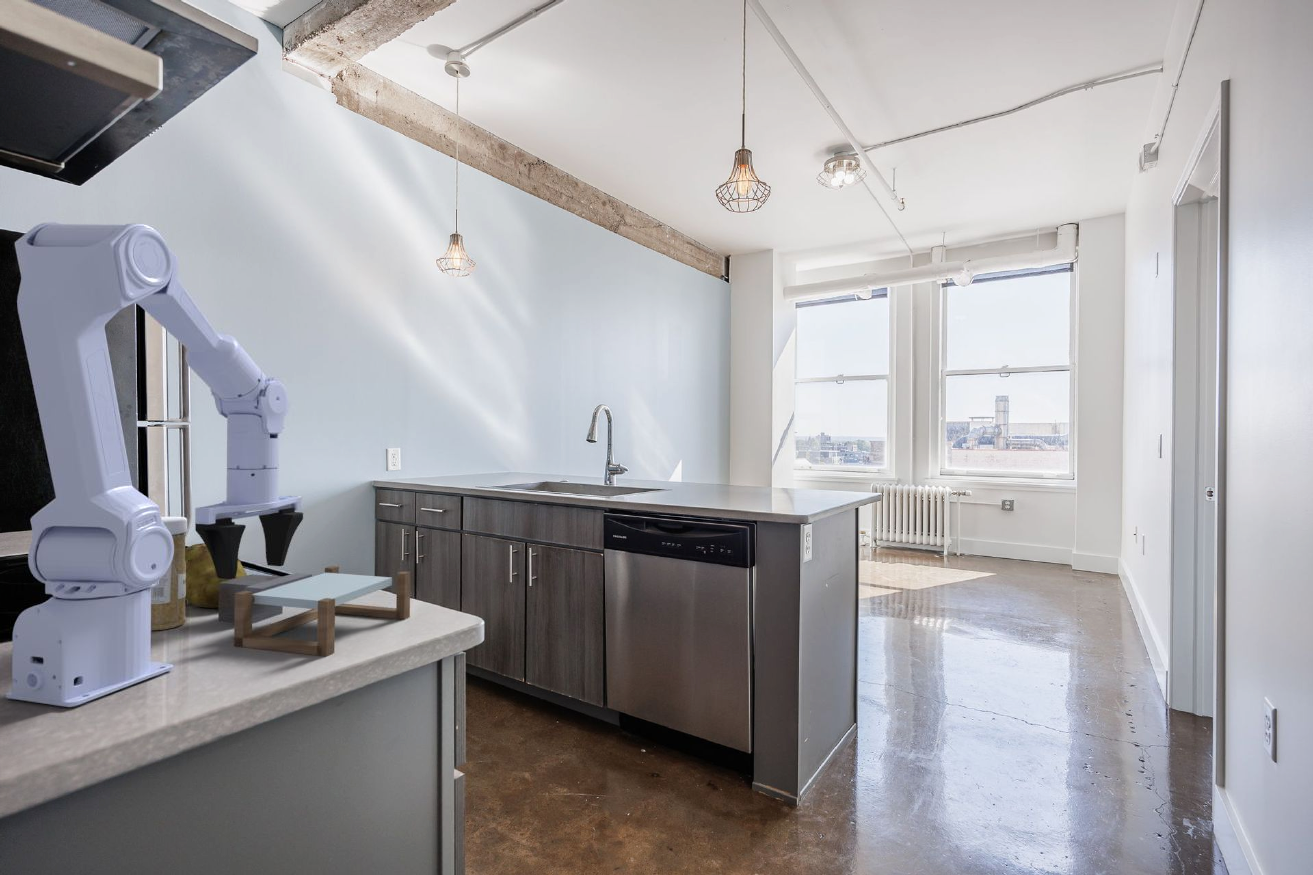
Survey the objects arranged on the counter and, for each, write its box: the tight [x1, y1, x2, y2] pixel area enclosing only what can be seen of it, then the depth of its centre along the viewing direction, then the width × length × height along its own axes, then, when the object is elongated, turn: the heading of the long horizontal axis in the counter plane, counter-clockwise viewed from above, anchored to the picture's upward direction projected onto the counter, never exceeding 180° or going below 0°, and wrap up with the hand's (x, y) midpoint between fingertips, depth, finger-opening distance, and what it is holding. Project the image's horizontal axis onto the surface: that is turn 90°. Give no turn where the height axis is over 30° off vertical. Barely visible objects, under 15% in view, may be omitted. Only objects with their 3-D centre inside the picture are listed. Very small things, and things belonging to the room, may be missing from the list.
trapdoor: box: [245, 572, 393, 610], centre depth 78 cm, size 12×13×1 cm
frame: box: [233, 565, 411, 657], centre depth 78 cm, size 15×12×6 cm
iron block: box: [217, 574, 284, 625], centre depth 83 cm, size 5×5×5 cm
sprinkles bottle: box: [151, 515, 188, 632], centre depth 78 cm, size 5×5×14 cm
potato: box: [185, 542, 248, 609], centre depth 89 cm, size 8×13×8 cm, turn 40°
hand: (252, 571), depth 83 cm, fingers open, 7 cm apart
